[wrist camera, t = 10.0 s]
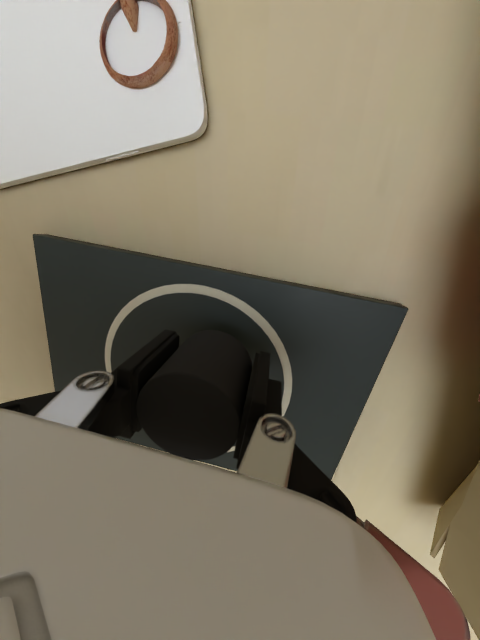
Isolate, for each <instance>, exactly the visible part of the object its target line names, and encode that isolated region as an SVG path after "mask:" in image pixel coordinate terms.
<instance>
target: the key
mask: <svg viewBox="0 0 480 640" xmlns="http://www.w3.org/2000/svg"><path fill="white" fill-rule="evenodd" d="M137 1H145V2H150V3H153V4H155V5H156V6H158V7H159V8H160V9H162V10H163V12H164V15H165V19H166V26H167V34H166V41H165V45H164V49H163V51H162V53H161V55H160V57H159V58H158V60H157V61H156V62H155V63H154V65H153V66H152V67H151V68H150V69H148V70H147V71H146V72H144V73H142V74H139V75H136V76H126V75H122V74H119V73H117V72H116V71H114V70H113V69H112V68H111V66H110V64H109V61H108V58H107V54H106V45H105V43H106V35H107V30H108V28H109V25H110V23H111V21H112V19H113V18H114V16H115V15H116V14H117V13H118V12H119V11H120V10H121V9H122V11H123V13H124V15H125V17H126V19H127V21H128V23H129V24H130V27H131V29H132V31H133V32H136V31H137V23H138V10H139V7H138V2H137ZM99 43H100V53H101V57H102V60H103V63H104V65H105V68H106V70H107V71H108V73H109V75H110V76H111V77H112V78H113V79H114V80H115V81H116V82H117V83H119V84H121V85H123V86H125V87H128V88H132V89H140V88H145V87H148V86H150V85H152V84H154V83H156V82H157V81H158V80H159V79H161V78H162V77H163V76H164V74H165V73H166V72H167V71H168V69H169V67H170V66H171V64H172V62H173V60H174V57H175V54H176V51H177V45H178V26H177V21H176V17H175V14H174V12H173V10H172V8H171V6H170V5H169V3H168V2H167V1H166V0H116V1H115V2H114V3H113V5H112V6H111V7H110V8H109V10H108V12H107V14H106V16H105V18H104V21H103V24H102V27H101V31H100V40H99Z"/></svg>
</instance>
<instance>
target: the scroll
mask: <svg viewBox="0 0 480 640" xmlns="http://www.w3.org/2000/svg"><path fill="white" fill-rule="evenodd" d="M478 401H479V402H480V394H479V399H478ZM445 541H446V542H445ZM444 542H445V546H444V550H443V554H442V558H441V562H440V566H439V571H440V573H441V575H442V576H443V578H444V580H445V582H446V583H447V585H448V587H449V589H450V590H451V592H452V594H453V596H454V597H455V599H456V600H457V602H458V603H459V604H460V606H461V608H462V610H463V612H464V615H465V616H466V618H467V620H468V622H469V623H470V625H471V627H472V629H473V630H474V632H475V634H476V635H477V637H478V639H479V640H480V460H479V462H478V465H477V466H476V467H475V468H474V469H473V470H472V472H471V473H470V474H469V475H468V476H467V478H466V479H465V480H464V481H463V482H462V483H461V485H460V486H459V487H458V488H457V489H456V490H455V492H454V493H453V494H452V495H451V496H450V497H449V499H448V500H447V501H446V502H445V503H444V504H443V506H442V507H441V508H440V510H439V514H438V519H437V524H436V528H435V533H434V538H433V542H432V547H431V552H430V555H431V556H432V557H433V558H435V557H436V555H437V553H438V552H439V550H440V549H441V547H442V546H443V544H444Z"/></svg>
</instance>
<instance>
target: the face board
mask: <svg viewBox="0 0 480 640" xmlns="http://www.w3.org/2000/svg"><path fill="white" fill-rule="evenodd" d="M33 241H34V248H35V255H36V262H37V268H38V275H39V282H40V289H41V296H42V303H43V310H44V317H45V324H46V331H47V338H48V345H49V352H50V359H51V366H52V373H53V380H54V387H55V392H57V391H62V390H63V389H64V388H65V387H66V386H67V385H68V384H69V383H70V382H72V381H73V380H74V379H75V378H76V377H78V376H79V375H81V374H83V373H86V372H90V371H96V370H100V371H107V372H110V373H111V372H112V371H114V370H115V369H116V368H117V367H118V366H119V365H121V364H122V363H123V362H124V361H126V360H127V359H128V358H130V357H131V356H132V355H133V354H135V353H136V352H137V351H138V350H140V349H141V348H142V347H143V346H145V345H146V344H147V343H148V342H150V341H151V340H152V339H153V338H155V337H156V336H157V335H159V334H160V333H161V332H162V331H164V330H165V329H167V330H171V331H176V332H177V335H179V337H180V339H179V347H180V346H181V345H182V344H183V343H184V341H185V340H186V339H187V338H189V337H190V336H191V335H193V334H195V333H197V332H200V331H204V330H216V331H221V332H225V333H227V334H230V335H231V336H233V337H235V338H236V339H237V340H239V341H240V342H241V343H242V344H243V346H244V347H245V348H246V350H247V351H248V353H249V355H250V358H251V361H252V367H253V362H254V358H255V353H260V351H264V352H268V353H271V355H270V368H269V379H273V380H277V381H281V385H282V416H283V417H285V418H286V419H287V420H289V421H290V422H291V423H292V425H293V426H294V428H295V430H296V439H295V444H296V445H297V446H298V447H299V448H300V449H301V450H302V451H303V452H304V453H305V454H306V455H307V456H308V457H309V458H310V459H311V460H312V462H313V463H314V464H315V465H316V466H317V467H318V468H319V469H320V470H321V471H322V472H323V473H324V474H325V475H326V476H327V477H328V478H329V479H330V480H331V479H332V477H333V474H334V472H335V470H336V468H337V466H338V463H339V461H340V459H341V457H342V455H343V452H344V450H345V448H346V446H347V444H348V441H349V439H350V437H351V435H352V432H353V430H354V428H355V426H356V424H357V421H358V419H359V417H360V415H361V413H362V410H363V408H364V406H365V404H366V402H367V399H368V397H369V395H370V393H371V390H372V388H373V386H374V384H375V382H376V379H377V377H378V375H379V373H380V371H381V368H382V366H383V364H384V362H385V360H386V357H387V355H388V353H389V351H390V349H391V346H392V344H393V342H394V340H395V337H396V335H397V333H398V331H399V329H400V326H401V324H402V322H403V320H404V318H405V315H406V313H407V311H408V308H407V307H405V306H403V305H401V304H399V303H394V302H389V301H384V300H379V299H374V298H369V297H364V296H358V295H353V294H348V293H343V292H338V291H333V290H328V289H323V288H318V287H313V286H307V285H302V284H297V283H292V282H287V281H282V280H277V279H272V278H267V277H262V276H256V275H251V274H246V273H241V272H236V271H231V270H226V269H221V268H216V267H211V266H205V265H200V264H195V263H190V262H185V261H180V260H175V259H170V258H165V257H160V256H154V255H149V254H144V253H139V252H134V251H129V250H124V249H119V248H114V247H109V246H103V245H98V244H93V243H88V242H83V241H78V240H73V239H68V238H63V237H58V236H52V235H47V234H33ZM116 438H117V439H120V440H124V441H128V442H131V443H135V444H139V445H142V446H146V447H150V448H153V449H157V450H161V451H164V452H167V451H165V450H163V449H162V448H160V447H159V446H158V445H157V444H155V443H154V442H153V441H152V440H151V439H150V438H149V437H148V435H147V434H146V433H145V431H144V430H143V428H142V429H141V430H140V431H139V432H135V433H134V435H133V436H132V437H131V439H128V438H124V437H121V436H117V437H116ZM235 446H236V443H235V444H234V445H233V447H232V448H231V449H230V450H229V451H228V452H226V453H225V454H223V455H221V456H219V457H217V458H214V459H209V460H198V461H201V462H205V463H209V464H212V465H216V466H220V467H223V468H227V469H231V470H234V471H238V469H236V466H237V461H238V460H237V459H234V458H233V455H234V451H235ZM168 453H169V452H168Z"/></svg>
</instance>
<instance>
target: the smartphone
mask: <svg viewBox="0 0 480 640" xmlns="http://www.w3.org/2000/svg"><path fill="white" fill-rule="evenodd" d="M115 1H116V0H0V189H1V188H5V187H9V186H13V185H17V184H21V183H25V182H29V181H33V180H37V179H41V178H45V177H49V176H53V175H57V174H61V173H65V172H69V171H73V170H77V169H81V168H85V167H89V166H93V165H97V164H101V163H105V162H109V161H113V160H117V159H121V158H125V157H129V156H133V155H137V154H141V153H145V152H149V151H153V150H157V149H161V148H165V147H169V146H173V145H177V144H181V143H185V142H189V141H192V140H195V139H197V138H199V137H200V136H201V135H202V134H203V133H204V132H205V130H206V127H207V122H208V112H207V104H206V97H205V91H204V84H203V77H202V71H201V64H200V57H199V51H198V44H197V37H196V31H195V24H194V17H193V11H192V4H191V0H166V1H167V2H168V3H169V5H170V6H171V8H172V10H173V12H174V14H175V17H176V21H177V26H178V45H177V51H176V54H175V57H174V60H173V62H172V64H171V66H170V67H169V69H168V71H167V72H166V73H165V74H164V76H163V77H162V78H161V79H159V80H158V81H157V82H156V83H154V84H152V85H150V86H148V87H145V88H140V89H132V88H128V87H125V86H123V85H121V84H119V83H117V82H116V81H115V80H114V79H113V78H112V77H111V76H110V75H109V73H108V71H107V70H106V68H105V65H104V63H103V60H102V57H101V53H100V43H99V40H100V31H101V27H102V24H103V21H104V18H105V16H106V14H107V12H108V10H109V8H110V7H111V6H112V5H113V3H114V2H115ZM137 2H138V7H139V10H138V23H137V31H136V32H133V31H132V29H131V27H130V24H129V23H128V21H127V19H126V17H125V15H124V13H123V11H122V9H121V10H120V11H119V12H118V13H117V14H116V15H115V16H114V18H113V19H112V21H111V23H110V25H109V28H108V30H107V35H106V43H105V45H106V54H107V58H108V61H109V64H110V66H111V68H112V69H113V70H114V71H116V72H117V73H119V74H122V75H126V76H136V75H139V74H142V73H144V72H146V71H147V70H148V69H150V68H151V67H152V66H153V65H154V63H155V62H156V61H157V60H158V58H159V57H160V55H161V53H162V51H163V49H164V45H165V41H166V34H167V26H166V19H165V15H164V12H163V10H162V9H160V8H159V7H158V6H156V5H155V4H153V3H150V2H145V1H137Z"/></svg>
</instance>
